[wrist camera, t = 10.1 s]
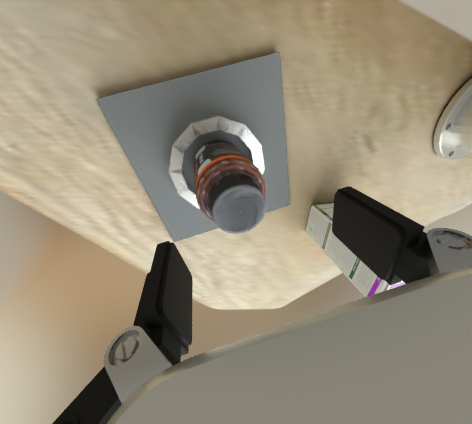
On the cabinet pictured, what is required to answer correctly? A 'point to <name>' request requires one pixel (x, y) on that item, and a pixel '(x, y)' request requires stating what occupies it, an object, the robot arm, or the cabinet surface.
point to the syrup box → (342, 252)
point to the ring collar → (199, 129)
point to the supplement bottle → (229, 187)
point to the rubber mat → (198, 107)
